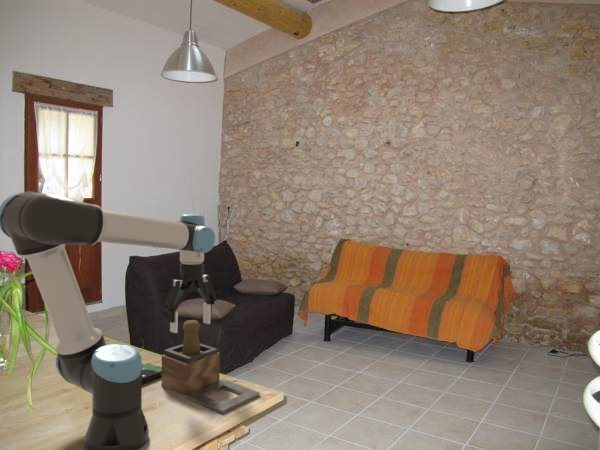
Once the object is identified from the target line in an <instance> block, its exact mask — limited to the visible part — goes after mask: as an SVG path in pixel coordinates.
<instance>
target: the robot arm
mask: <svg viewBox="0 0 600 450" xmlns="http://www.w3.org/2000/svg"><path fill="white" fill-rule="evenodd" d="M0 230H1V231H2V233H3V234H4V235H5V236H7V238H10V240H11V242H12V243H13V246H14V249H15V251H16V254H17V256H20V257H22V258H24V259H26V260H27V262H28V265H29V267H30V269H31V273H32V275H33V278H34V280H35V283H36V285H37V288H38V290H39V292H40V295H41V299H42V301H43V302H44V307H45V308H46V310H47V313H48V316H49V318H50V320H51V321H50V322H51V323H52V325H53V328H54V330H55V332H56V336H57V339H58V343H57V344H56V346H55V351H56V354H57V356H56V357H55V367H56V371H57V372H58V374H59V375H60V376H61V377H62V378H63V380H64V381H66V382H68V383H69V384H72V385H74V386H76V387H78V388H79V389H81V390H83V391H86V392H87V393H89V394H91V397H92V398H91V400H92V403H91V404H92V414H91V418H90V421H89V424H88V427H87V429H86V430H87V431H86V433H85V436H84V447H85V449H86V450H139V449H141V448H142V447H143V446H144V445H146V444H147V442H148V440H149V435H150V434H149V425H148V423H147V420H146V415H145V414H144V412H143V408H142V406H143V405H142V401H143V400H142V395H143V394H142V386H143V385H142V364H143V363H142V362H143V361H142V355H141V353H140V352H139V350H138V349H137V348H135V347H133V346H131V345H127V344H120V343H112V344H107V343H106V340H105V337H104V335H103V332H102V330H101V329H100V328H98V327H94V325H93V323H92V320H91V318H90V313H89V311H88V309H87V305H86V303H85V300H84V297H83V295H82V291H81V288H80V286H79V284H78V281H77V277H76V274H75V273H74V269H73V267H72V264H71V262H70V258H69V256H68V253H67V250H66V248H65V247H66V245H84V246H85V245H86V246H94V245H96V244H97V243H107V244H108V243H109V244H119V245H130V246H139V247H149V248H154V249H155V248H157V249H169V250H179V262H180V264H179V274H180V279H172V281H171V288H170V289H169V292H168V295H167V297H166V300H165V302H164V304H163V307H162V310H163V311H166V312H168V323H169V332H171V333H174V334H178V331H179V330H178V328H179V327H178V325H179V324H178V323H179V322H178V321H179V312H178V311H177V310H178V308H179V306H180V305H181V304H182V302H183V300H184V299H185V296H187V295H188V294H189V293H192V292H197V293H198V294H199V295H200V297H201V298H202V299H203V301H204V303H203V308H202V311H203V313H202V316H203V317H202V323H203V324H206V325H210V324H211V314H212V311H213V310H212V309H213V307H212V306H213V305H214V304H215V302H217V300H218V298H217V295H216V293H215V289H214V287H213V285H212V282H211V275H209V274H205V272H204V271H205V270H204V269H205V264H204V262H205V253H208V252H209V251H211V250H212V249H213V248H214V246H215V243H216V234H215V232H214V230H213V229H212V228H211V227H209V226H206V222H205V217H204V215H203V214H197V213H183V214H182V215H181V216H180V219H179V221H178V220H177V221H172V220H166V219H160V218H155V217H154V218H153V217H147V216H140V215H137V214H136V215H134V214H128V213H124V212H123V213H122V212H116V211H110V210H103V209H102V207H101V206H100V205H98V204H93V203H92V204H91V203H87V202H84V201H80V200H75V199H72V198H69V197H66V196H63V195H59V194H56V193H55V194H54V193H43V192H36V191H23V192H18V193H14V194H11V195H10V196H8V197H6V198H5V200H3V201H2V203H1V205H0Z"/></svg>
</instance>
